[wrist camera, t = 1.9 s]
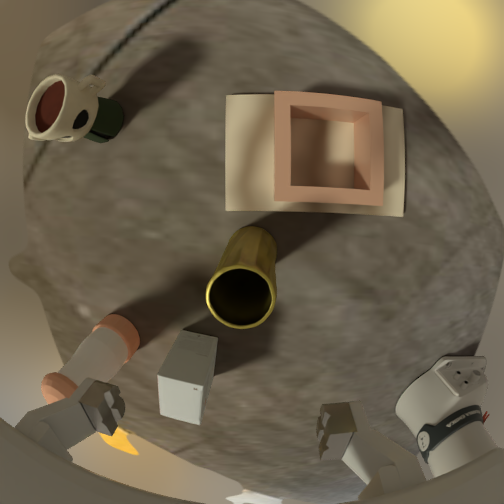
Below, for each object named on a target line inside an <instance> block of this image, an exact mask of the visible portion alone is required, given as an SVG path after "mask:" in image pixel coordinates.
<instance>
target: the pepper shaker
mask: <svg viewBox="0 0 504 504" xmlns="http://www.w3.org/2000/svg"><path fill="white" fill-rule="evenodd" d="M139 345H140V337H139V334H138V331H137V330H136V328H135V327H134V325H133V324H132V323H131V322H130V321H129V320H127V319H126V318H124V317H123V316H120V315H117V314H110V315H108V316H106V317H105V318H104V319H103V320H101V321H100V322H99V323H98V324H97V325H96V326H95V327H94V328H93V331H92V333H91V334H90V335H89V336H88V337H86V338H85V339H84V340H83V342H82V343H81V344H80V346H79V347H78V349H77V351H76V352H75V354H74V355H73V357H72V358H71V359H70V360H69V361H68V362H67V363H66V364H65V365H64V366H63V368H61V370H60V371H59V372H58V373H56V372H54V373H49V374H47V375H45V377H44V379H43V381H42V387H41V388H42V393H43V396H44V398H45V399H46V401H47V403H48V404H51V403H54V402H56V401H59V400H62V399H64V398H70V396H71V395H72V394H73V393H74V392H75V390H76V389H77V388H78V387H79V386H80V384H81V383H82V382H83V381H84V380H85V378H88V377H89V378H92V379H95V380H99V381H102V382H105V383H106V382H107V381H109V380H110V379H111V378H112V377H113V376H114V375H115V374H116V373H118V371H119V370H120V368H121V367H122V365H123V364H124V363H126V362H128V361H129V360H130V359H131V357H132V356H133V354H134V353H135V352H136V350H137V349H138V347H139Z"/></svg>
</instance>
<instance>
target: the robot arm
mask: <svg viewBox="0 0 504 504" xmlns="http://www.w3.org/2000/svg"><path fill="white" fill-rule="evenodd" d="M485 367H486V358H485V357H484V356H464V357H453V356H445V357H442V358H441V359H440V360H438V361H437V363H436V364H435V365H434V366H433V367H432V368H431V369H430V370H429V371H428V372H426V373H425V374H423V375H422V376H420V377H419V378H418V379H417V380H415V381H414V382H413V383H412V384H411V385H410V386H409V387H408V388H407V389H406V390H405V391H404V393H403V394H402V395H401V397H400V399H399V400H398V403H397V405H396V414H397V416H398V417H399V418H400V419H401V420H402V421H403V422H404V423H405V424H406V425H407V426H408V428H409V429H410V430H411V432H412V433H413V435H414V436H415V438H416V440H417V444H418V447H419V450H420V452H421V454H422V457H423V458H424V461H425V462H426V463H427V464H429V466H430V468H431V471H432V473H433V476H434V478H433V479H430V480H428V481H426V478H425V476H424V473H423V471H422V468H421V466H420V464H419V461H418V459H417V457H416V456H415V455H413V454H411V453H410V452H408V451H407V450H405V449H404V448H402V447H401V446H399V445H397V444H396V443H394V442H393V441H391V440H390V439H389V438H387V437H386V436H384V435H383V434H381V433H380V432H378V431H377V430H375V429H374V430H371V427H370V424H369V421H368V418H367V416H366V413H365V410H364V407H363V405H362V402H361V401H360V400H359V401H351V402H341V403H330V404H322V405H321V408H320V414H321V416H320V417H318V420H317V428H316V432H317V439H318V440H319V441H320V445H319V454H320V460H331V459H342V460H343V461H344V462H345V463H346V464H347V465H348V466H349V467H350V468H351V469H352V470H353V471H354V472H355V473H356V474H357V475H358V476H359V477H360V478H361V479H362V480H363V481H364V482H365V483H366V484H367V486H366V487H365V489H364V490H363V491H362V492H361V493H360V495H359V496H358V500H357V501H351V502H345V503H339V504H504V449H503V448H499V447H498V446H497V445H496V443H495V442H494V440H493V439H492V437H491V436H490V434H489V433H488V431H487V430H486V428H485V427H484V424H483V423H484V422H485V420H486V419H487V417H488V416H489V414H488V415H487V417H486V414H487V411H486V413H485V414H484V415H483V417H482V412H481V405H482V402H483V400H484V397H485V394H486V392H487V389H488V380H487V378H486V376H485V375H484V370H485ZM119 394H120V390H119V388H118V386H116V385H112V384H109V383H105V382H102V381H99V380H95V379H92V378H89V377H88V378H85V380H84V381H83V382H82V383H81V384H80V386H79V387H78V388H77V389H76V390H75V392H74V393H73V394H72V395H71V396H70V398H64V399H62V400H59V401H56V402H54V403H51V404H48V405H46V406H43V407H40V408H38V409H35V410H32V411H29V412H27V414H26V415H25V416H24V417H23V418H22V419H21V420H20V422H19V423H18V424H17V425H16V426H15V428H14V427H12V426H11V425H10V424H8V423H7V422H6V421H4V420H3V419H2V418H0V504H204V503H197V502H192V501H186V500H181V499H177V498H172V497H168V496H163V495H159V494H156V493H152V492H148V491H144V490H141V489H138V488H135V487H131V486H129V485H126V484H123V483H120V482H117V481H114V480H112V479H109V478H106V477H104V476H101V475H99V474H97V473H94V472H92V471H90V470H87V469H85V468H83V467H81V466H79V465H76V464H74V463H72V460H73V458H72V456H71V455H70V454H69V452H68V451H67V449H69V448H71V447H72V446H74V445H76V444H77V443H79V442H81V441H82V440H84V439H85V438H87V437H89V436H90V435H92V434H94V433H95V432H96V431H97V432H100V433H103V434H106V435H109V436H112V435H113V434H114V432H115V430H116V428H117V426H118V425H117V421H119V420H121V419H122V418H123V416H124V413H125V403H124V400H123V399H122V398H121V397H120V396H119ZM485 417H486V418H485Z"/></svg>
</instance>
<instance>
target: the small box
mask: <svg viewBox="0 0 504 504" xmlns="http://www.w3.org/2000/svg"><path fill="white" fill-rule="evenodd" d="M217 343H218V338H217V337H213V336H208V335H203V334H198V333H193V332H189V331H184V330H181V331H180V333H179V335H178V337H177V339H176V340H175V342H174V344H173V346H172V348H171V350H170V352H169V353H168V355H167V357H166V359H165V361H164V363H163V365H162V367H161V368H160V370H159V372H158V374H157V379H158V393H159V406H160V414H161V415H164V416H167V417H170V418H174V419H178V420H181V421H185V422H189V423H194V424H198V425H200V424H201V422H202V418H203V414H204V410H205V407H206V403H207V399H208V395H209V392H210V388H211V384H212V381H213V377H214V368H215V359H216V351H217Z"/></svg>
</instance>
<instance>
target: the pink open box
mask: <svg viewBox="0 0 504 504" xmlns="http://www.w3.org/2000/svg"><path fill="white" fill-rule="evenodd" d="M290 118H299V119H316V120H329V121H339V122H348V123H354V189H353V188H337V187H319V186H292V185H291V119H290ZM383 192H384V135H383V116H382V102H381V101H375V100H369V99H363V98H357V97H350V96H342V95H333V94H323V93H311V92H294V91H274V201H285V202H318V203H340V204H358V205H373V206H383Z"/></svg>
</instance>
